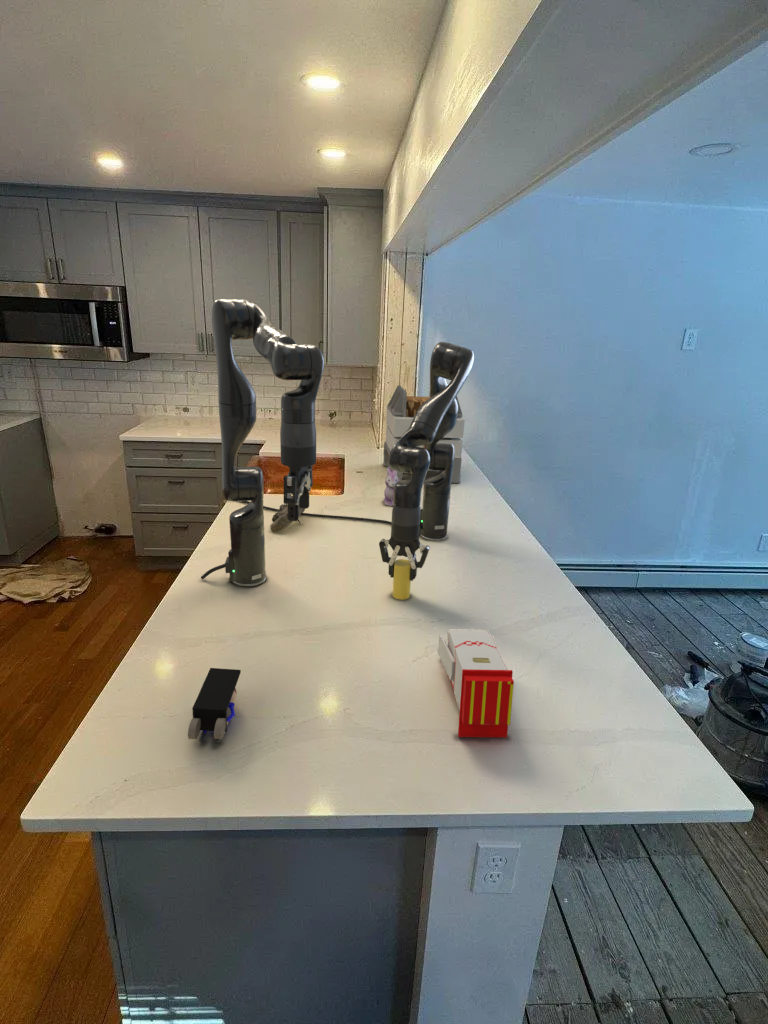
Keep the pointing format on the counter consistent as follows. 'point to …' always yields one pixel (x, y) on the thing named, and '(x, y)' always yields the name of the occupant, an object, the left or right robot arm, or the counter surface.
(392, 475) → the figurine
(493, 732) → the toy
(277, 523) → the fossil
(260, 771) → the counter surface
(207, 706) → the figurine character
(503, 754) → the counter surface
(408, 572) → the canister
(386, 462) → the grey slatted crate
